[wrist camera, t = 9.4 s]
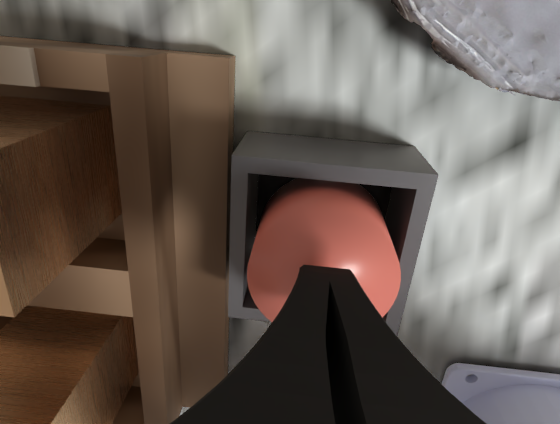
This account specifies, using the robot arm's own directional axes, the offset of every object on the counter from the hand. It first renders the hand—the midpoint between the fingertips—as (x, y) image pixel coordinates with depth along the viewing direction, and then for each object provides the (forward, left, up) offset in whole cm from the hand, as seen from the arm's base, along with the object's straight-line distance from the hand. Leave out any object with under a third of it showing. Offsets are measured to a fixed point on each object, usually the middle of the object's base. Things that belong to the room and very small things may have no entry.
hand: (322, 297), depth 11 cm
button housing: (0, 0, -5) cm, 5 cm away
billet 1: (+9, -2, -4) cm, 11 cm away
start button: (0, 0, -4) cm, 4 cm away
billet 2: (+9, +7, -4) cm, 12 cm away
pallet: (+9, +3, -5) cm, 11 cm away
